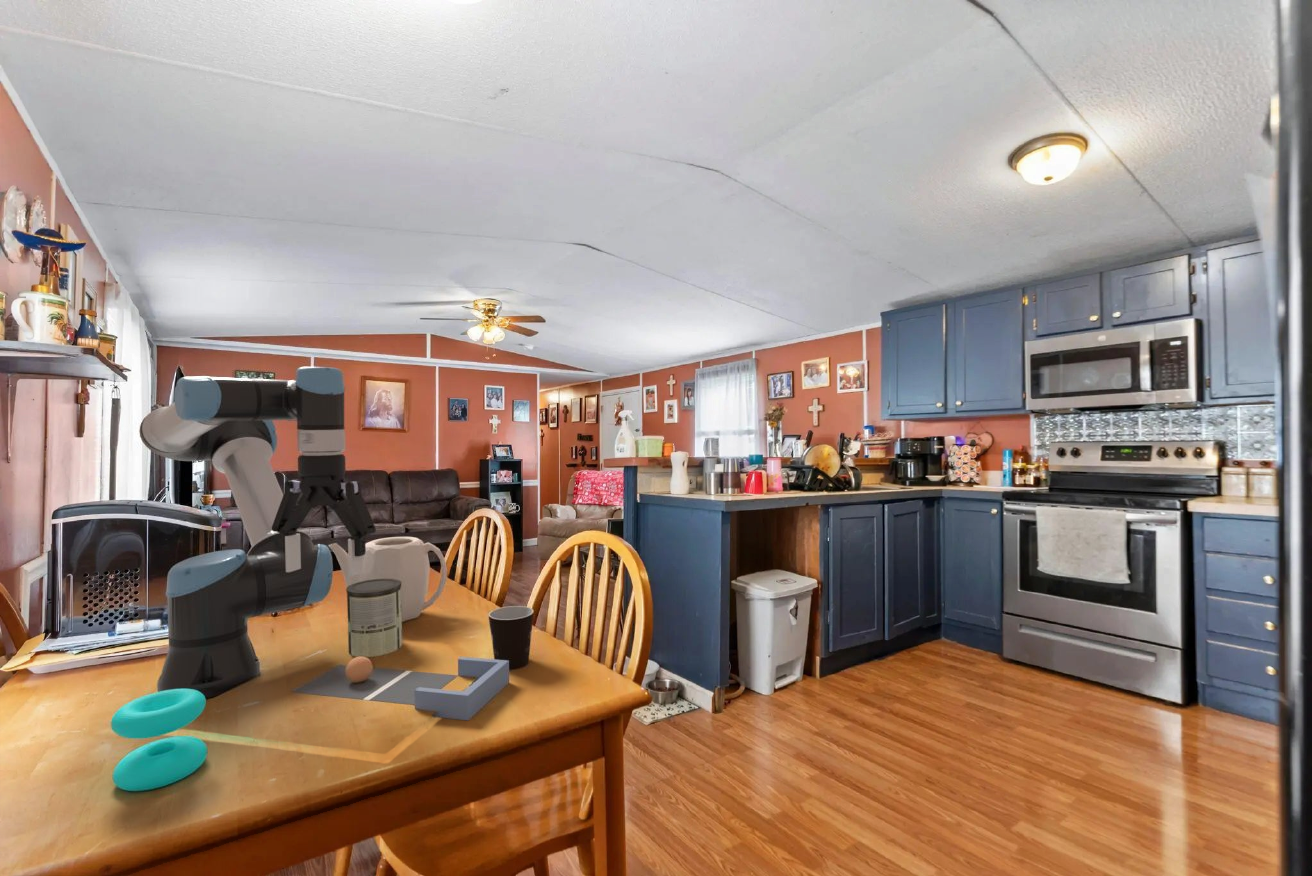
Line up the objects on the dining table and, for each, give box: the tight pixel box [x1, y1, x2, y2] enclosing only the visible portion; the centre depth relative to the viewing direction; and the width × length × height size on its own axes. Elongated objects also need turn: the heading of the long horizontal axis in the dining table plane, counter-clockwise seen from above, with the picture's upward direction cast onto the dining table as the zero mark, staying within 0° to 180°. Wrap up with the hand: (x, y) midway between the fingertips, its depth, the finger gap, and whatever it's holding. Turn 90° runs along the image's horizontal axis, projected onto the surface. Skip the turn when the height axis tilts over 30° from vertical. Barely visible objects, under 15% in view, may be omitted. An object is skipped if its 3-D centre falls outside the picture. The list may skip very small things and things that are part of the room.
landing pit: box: [414, 656, 510, 721], centre depth 105 cm, size 10×14×4 cm, turn 167°
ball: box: [345, 656, 374, 683], centre depth 110 cm, size 4×4×4 cm
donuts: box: [110, 689, 208, 792], centre depth 83 cm, size 10×10×10 cm
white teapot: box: [327, 536, 448, 623], centre depth 148 cm, size 16×27×19 cm, turn 101°
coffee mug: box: [487, 605, 535, 671], centre depth 122 cm, size 12×9×10 cm
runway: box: [290, 664, 459, 706], centre depth 109 cm, size 25×12×1 cm, turn 77°
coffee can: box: [345, 579, 403, 658], centre depth 126 cm, size 10×10×14 cm
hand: (324, 572), depth 111 cm, fingers open, 12 cm apart
